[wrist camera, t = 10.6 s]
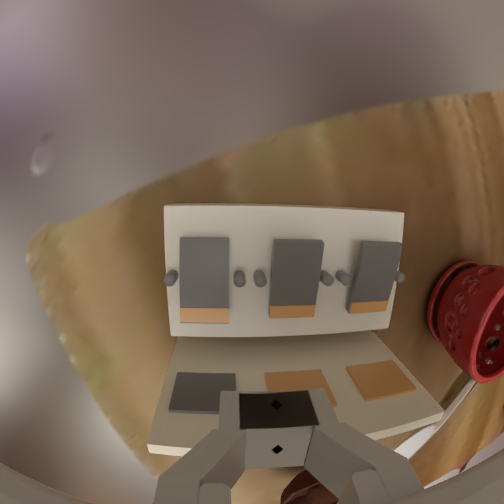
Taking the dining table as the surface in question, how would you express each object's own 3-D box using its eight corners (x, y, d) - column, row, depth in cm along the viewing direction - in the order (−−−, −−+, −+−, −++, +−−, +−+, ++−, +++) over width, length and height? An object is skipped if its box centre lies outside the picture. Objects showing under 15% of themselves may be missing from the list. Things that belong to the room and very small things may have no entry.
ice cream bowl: (306, 422, 35) (334, 508, 20) (355, 441, 37) (388, 511, 22) (257, 460, 36) (268, 541, 22) (309, 476, 38) (328, 544, 24)
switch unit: (384, 209, 29) (495, 233, 14) (368, 336, 33) (440, 420, 17) (172, 203, 28) (107, 223, 12) (179, 342, 31) (149, 452, 15)
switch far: (399, 241, 24) (404, 246, 23) (381, 306, 27) (385, 311, 26) (360, 240, 24) (364, 245, 23) (346, 308, 27) (349, 314, 26)
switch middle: (321, 239, 24) (324, 243, 23) (311, 312, 26) (313, 317, 26) (273, 238, 24) (274, 243, 23) (268, 313, 26) (269, 318, 25)
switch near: (228, 238, 25) (228, 237, 24) (228, 321, 24) (228, 323, 24) (181, 238, 24) (179, 237, 24) (181, 321, 24) (180, 323, 23)
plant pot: (487, 250, 32) (548, 271, 20) (470, 334, 35) (519, 369, 23) (424, 250, 31) (494, 279, 19) (406, 348, 34) (457, 398, 22)
